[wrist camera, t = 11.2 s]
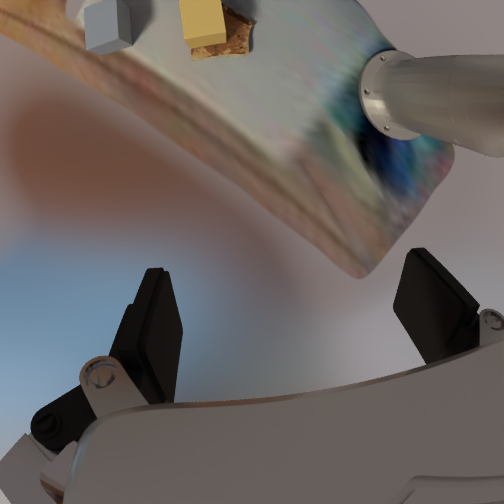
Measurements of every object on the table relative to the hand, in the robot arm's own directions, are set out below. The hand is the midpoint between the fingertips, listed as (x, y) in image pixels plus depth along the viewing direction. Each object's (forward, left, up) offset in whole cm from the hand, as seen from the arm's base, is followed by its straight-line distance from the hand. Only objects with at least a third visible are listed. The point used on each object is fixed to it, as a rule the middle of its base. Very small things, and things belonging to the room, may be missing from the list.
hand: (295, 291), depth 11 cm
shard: (+3, -17, -27) cm, 32 cm away
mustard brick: (+3, -17, -25) cm, 31 cm away
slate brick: (+14, -20, -27) cm, 36 cm away
